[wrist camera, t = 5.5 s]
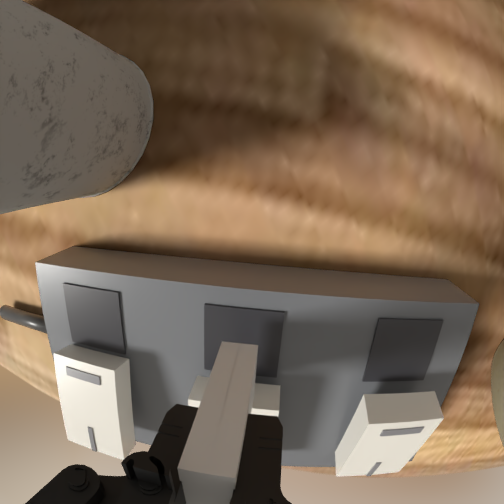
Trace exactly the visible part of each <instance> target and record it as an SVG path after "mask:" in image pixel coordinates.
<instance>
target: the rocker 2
mask: <svg viewBox="0 0 504 504" xmlns="http://www.w3.org/2000/svg"><path fill="white" fill-rule="evenodd" d="M208 380H209V377H203V376H197V378H196V380H195V383H194V385H193V388H192V390H191V393H190V395H189V398H188V406H192V407H198V408H199V405H200V403H201V400H202V397H203V394H204V391H205V388H206V386H207V383H208ZM279 404H280V385H270V384H259V383H255V390H254V398H253V405H252V411H251V414H258V415H268V416H278V415H279Z"/></svg>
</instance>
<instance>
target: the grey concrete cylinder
mask: <svg viewBox="0 0 504 504" xmlns="http://www.w3.org/2000/svg"><path fill="white" fill-rule="evenodd" d="M152 123H153V97H152V93H151V88H150V85H149V83H148V81H147V79H146V77H145V75H144V73H143V71H142V70H141V69H140V68H139V67H138V66H137V65H136V64H135V63H134V62H133V61H131V60H130V59H128V58H126V57H124V56H123V55H120V54H117V53H116V52H114V51H113V50H111V49H109V48H108V47H106V46H104V45H103V44H101V43H99V42H98V41H96V40H94V39H93V38H91V37H89V36H87V35H86V34H84V33H82V32H80V31H79V30H77V29H75V28H73V27H72V26H70V25H68V24H66V23H64V22H63V21H61V20H59V19H57V18H55V17H53V16H51V15H50V14H48V13H46V12H44V11H42V10H40V9H38V8H36V7H34V6H32V5H30V4H28V3H26V2H24V1H22V0H0V214H3V213H7V212H12V211H16V210H20V209H25V208H29V207H34V206H39V205H44V204H49V203H53V202H59V201H64V200H69V199H74V198H85V197H94V196H97V195H100V194H102V193H105V192H108V191H109V190H111V189H112V188H114V187H115V186H116V185H118V184H119V183H121V182H122V181H123V180H124V179H125V178H126V177H127V176H128V174H129V173H130V172H131V171H132V170H133V169H134V167H135V166H136V164H137V163H138V161H139V159H140V158H141V156H142V155H143V152H144V150H145V147H146V145H147V142H148V140H149V138H150V133H151V128H152Z"/></svg>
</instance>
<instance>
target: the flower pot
mask: <svg viewBox="0 0 504 504" xmlns="http://www.w3.org/2000/svg"><path fill="white" fill-rule="evenodd" d="M491 392H492V403H493V410H494V415H495V420H496V424H497V428H498V431H499V435H500V438H501V441H502V444H503V446H504V340H503V341H502V342H501V344H500V345H499V347H498V349H497V350H496V352H495V355H494V357H493V360H492V366H491Z"/></svg>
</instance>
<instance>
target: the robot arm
mask: <svg viewBox="0 0 504 504" xmlns="http://www.w3.org/2000/svg"><path fill="white" fill-rule="evenodd" d="M257 353H258V345H252V344H242V343H233V342H224V341H222V343H221V346H220V349H219V351H218V354H217V357H216V360H215V363H214V366H213V368H212V371H211V374H210V377H209V380H208V383H207V386H206V388H205V391H204V394H203V397H202V400H201V403H200V405H199V408H198V407H192V406H187V405H181V404H176V405H174V406H173V407H172V408H171V409H170V410H168V411H167V412H166V414H165V417H164V419H163V421H162V424H161V425H160V427H159V430H158V433H157V434H156V436H155V438H154V441H153V443H152V445H151V447H150V449H149V451H148V452H145V451H142V452H136V453H133V454H131V455H129V456H127V457H126V458H125V459H124V460H123V462H122V466H123V468H124V471H125V473H126V476H101V475H97V473H96V472H95V471H94V470H93V469H92V468H90V467H87V466H85V465H78V464H77V465H71V466H68V467H67V468H65V469H63V470H62V471H61V472H60V473H59V474H58V475H57V476H55V477H54V478H53V479H52V480H51V481H50V482H49V483H48V484H47V485H46V486H44V487H43V488H42V489H41V490H40V491H39V492H38V493H37V494H35V495H34V496H33V497H32V498H31V499H30V500H29V501H28V502H27V503H25V504H292V503H290V502H289V501H287V500H286V498H285V497H284V496H283V494H282V492H281V489H280V488H281V487H280V480H281V462H282V440H283V426H282V424H281V422H280V420H279V418H278V416H268V415H258V414H251V411H252V405H253V398H254V390H255V378H256V366H257Z"/></svg>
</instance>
